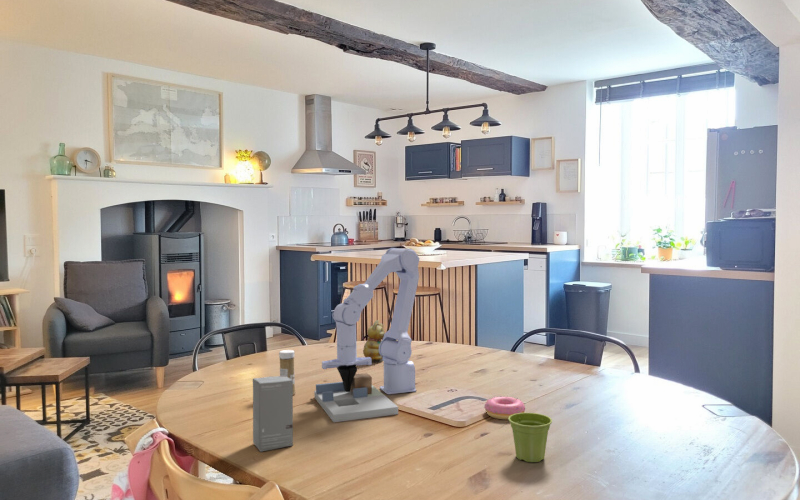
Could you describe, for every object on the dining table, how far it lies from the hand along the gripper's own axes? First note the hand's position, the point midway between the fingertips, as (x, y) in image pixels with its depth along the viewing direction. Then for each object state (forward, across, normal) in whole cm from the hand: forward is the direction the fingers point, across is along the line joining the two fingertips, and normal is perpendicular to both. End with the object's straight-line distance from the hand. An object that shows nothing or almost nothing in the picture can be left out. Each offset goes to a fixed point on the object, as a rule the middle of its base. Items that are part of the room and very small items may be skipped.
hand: (347, 390), depth 178 cm
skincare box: (+3, -25, -27) cm, 37 cm away
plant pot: (+3, +27, -56) cm, 62 cm away
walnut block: (+1, +4, 0) cm, 4 cm away
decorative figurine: (+3, +23, +46) cm, 51 cm away
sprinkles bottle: (+3, -15, +13) cm, 20 cm away
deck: (+3, +1, -5) cm, 6 cm away
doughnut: (+3, +36, -28) cm, 46 cm away
